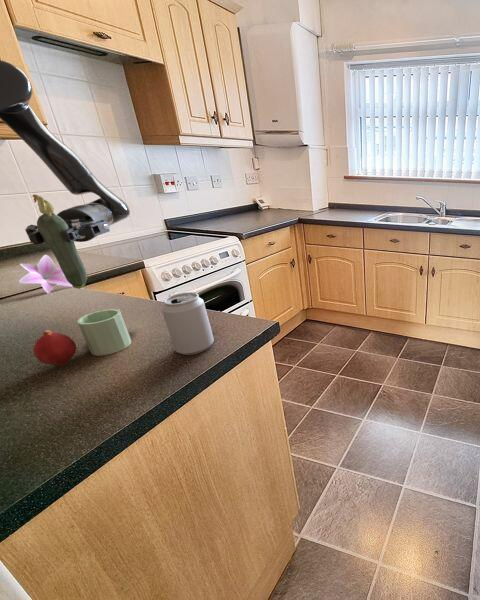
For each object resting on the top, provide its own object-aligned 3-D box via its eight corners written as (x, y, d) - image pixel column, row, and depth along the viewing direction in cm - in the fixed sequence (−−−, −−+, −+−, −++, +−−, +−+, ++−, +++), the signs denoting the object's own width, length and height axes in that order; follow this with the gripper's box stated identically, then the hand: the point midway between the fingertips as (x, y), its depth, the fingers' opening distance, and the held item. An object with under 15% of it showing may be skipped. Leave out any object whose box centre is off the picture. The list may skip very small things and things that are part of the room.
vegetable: (97, 287, 74) (59, 193, 66) (73, 294, 71) (29, 196, 63) (85, 284, 76) (47, 192, 68) (62, 291, 72) (18, 195, 64)
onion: (39, 367, 67) (20, 332, 64) (76, 354, 71) (61, 320, 68) (48, 377, 64) (29, 341, 61) (86, 362, 68) (70, 328, 65)
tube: (85, 358, 70) (71, 326, 66) (97, 342, 75) (84, 312, 72) (126, 351, 72) (114, 320, 69) (135, 336, 78) (124, 307, 75)
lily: (18, 302, 99) (19, 276, 95) (15, 278, 104) (16, 252, 100) (74, 301, 108) (78, 277, 104) (69, 279, 114) (72, 256, 110)
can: (173, 346, 74) (156, 296, 69) (210, 335, 78) (197, 287, 73) (179, 361, 68) (161, 308, 64) (218, 348, 73) (205, 297, 68)
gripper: (37, 208, 76) (-9, 222, 62) (114, 204, 82) (88, 216, 67) (51, 241, 79) (11, 261, 65) (125, 235, 85) (102, 252, 70)
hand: (50, 238), depth 66 cm, fingers closed on vegetable, 4 cm apart
